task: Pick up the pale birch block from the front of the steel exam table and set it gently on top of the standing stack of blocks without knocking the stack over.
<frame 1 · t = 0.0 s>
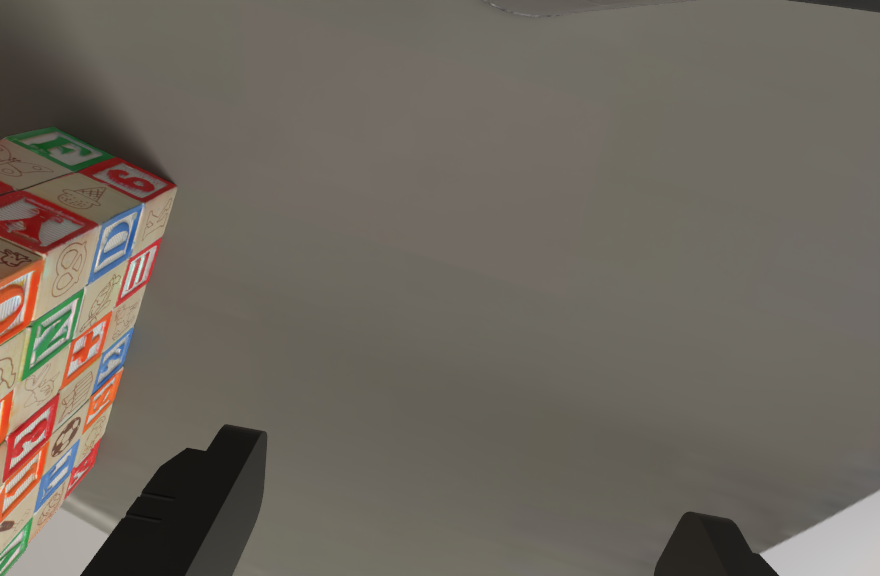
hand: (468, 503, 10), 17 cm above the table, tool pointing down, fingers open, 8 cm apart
stack of blocks: (81, 320, 30), on the table
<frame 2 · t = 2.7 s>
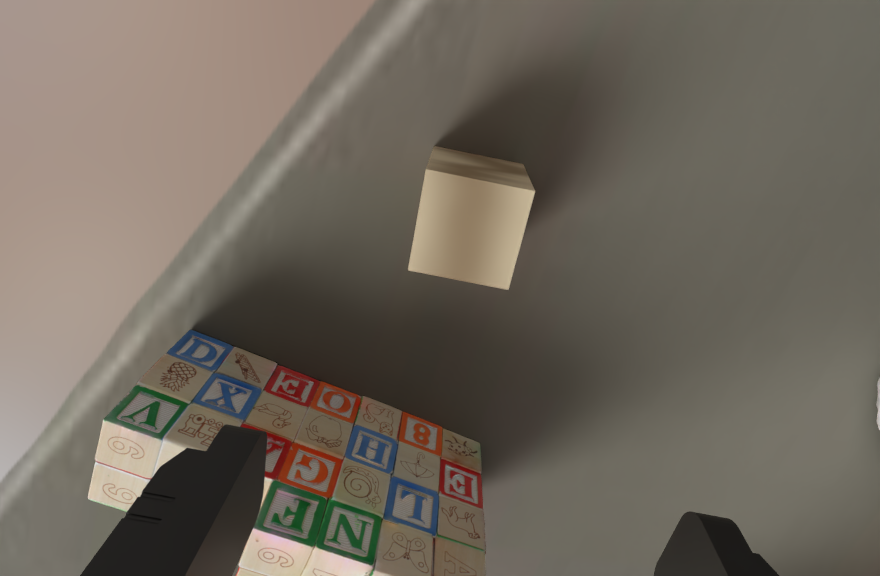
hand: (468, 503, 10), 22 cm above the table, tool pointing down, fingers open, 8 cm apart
birch block: (469, 198, 30), on the table
stack of blocks: (328, 417, 38), on the table
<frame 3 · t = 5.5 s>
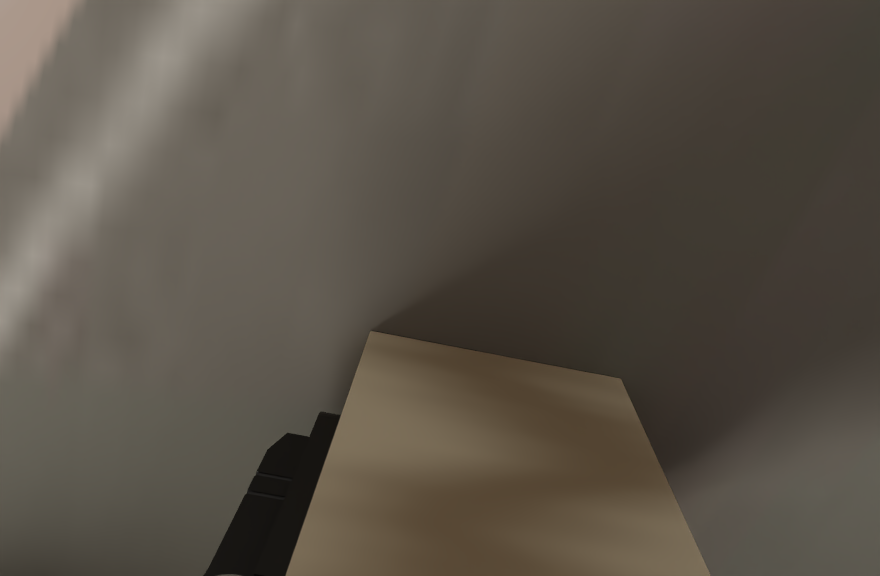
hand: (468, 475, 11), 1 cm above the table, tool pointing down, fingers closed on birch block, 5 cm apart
birch block: (469, 452, 11), on the table, touching gripper
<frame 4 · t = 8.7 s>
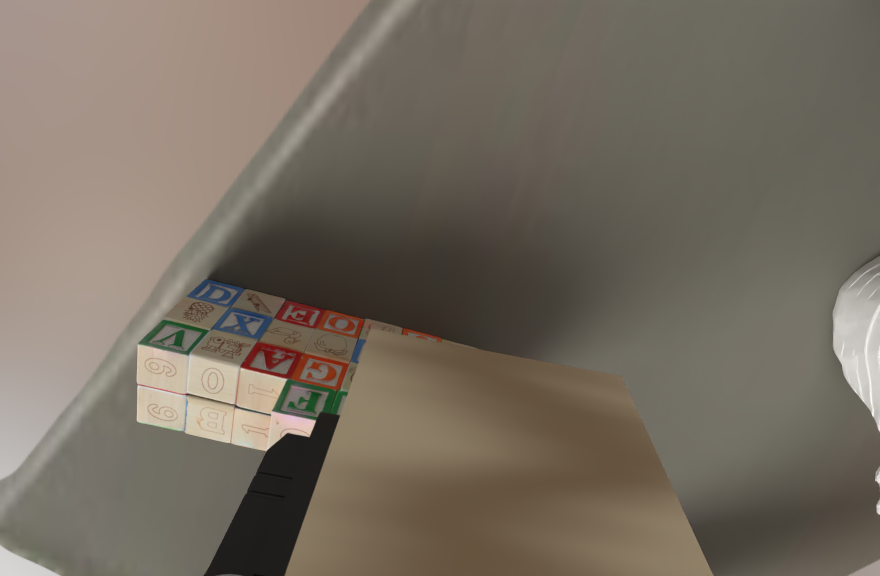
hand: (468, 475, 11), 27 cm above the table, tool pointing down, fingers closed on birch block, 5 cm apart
birch block: (469, 450, 11), point 26 cm above the table, touching gripper
stack of blocks: (339, 344, 42), on the table
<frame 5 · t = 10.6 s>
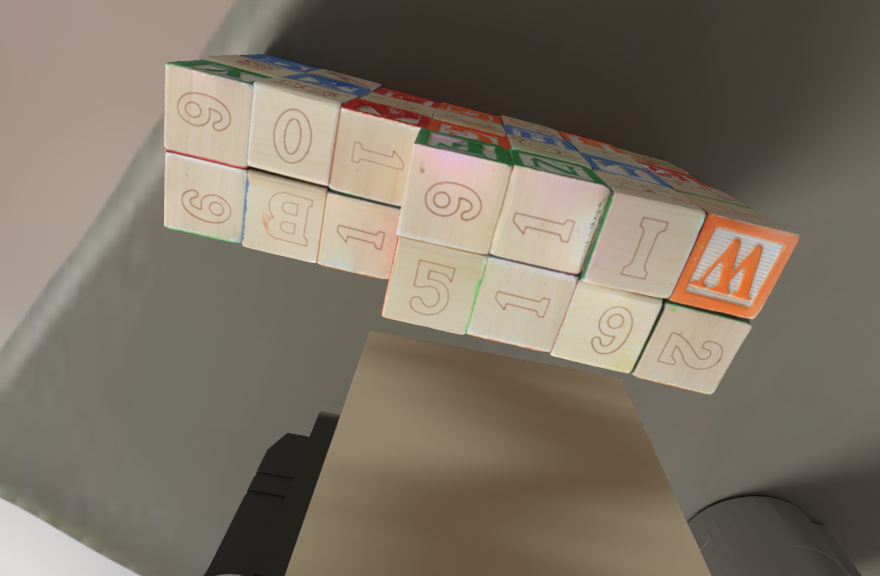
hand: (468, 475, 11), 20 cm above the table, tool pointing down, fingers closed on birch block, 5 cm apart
birch block: (469, 452, 11), point 19 cm above the table, touching gripper
stack of blocks: (455, 166, 28), on the table
when the fingers open (14 cm above the table, at t = 12.1 s): birch block drops 1 cm, resting on stack of blocks.
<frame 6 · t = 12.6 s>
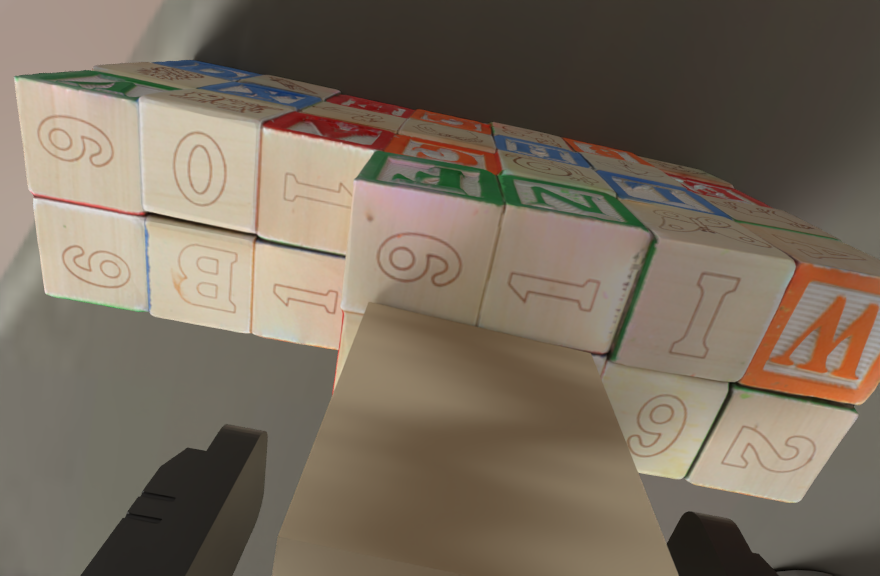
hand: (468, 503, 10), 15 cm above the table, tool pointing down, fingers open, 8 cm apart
birch block: (453, 417, 13), point 12 cm above the table, touching stack of blocks
stack of blocks: (439, 186, 23), on the table, touching birch block
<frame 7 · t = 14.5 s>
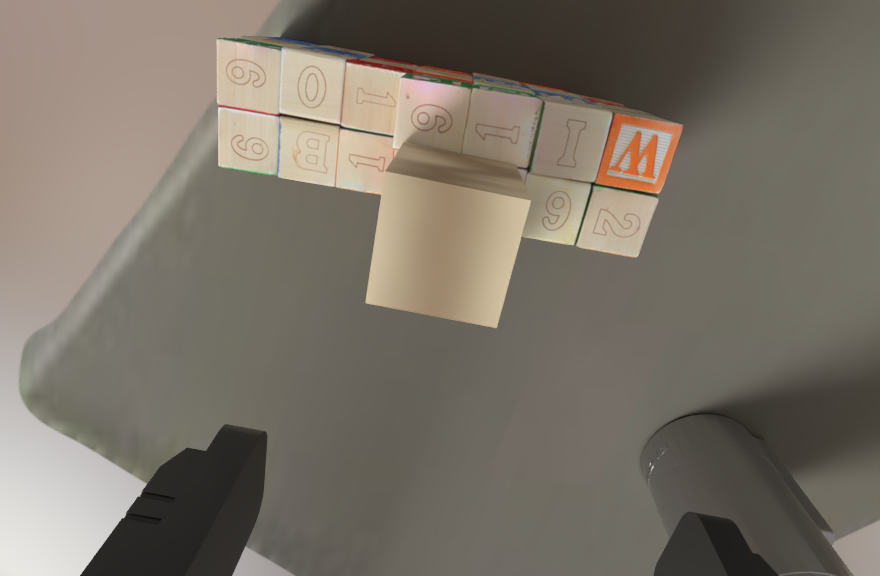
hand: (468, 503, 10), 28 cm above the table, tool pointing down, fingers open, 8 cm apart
birch block: (448, 207, 24), point 12 cm above the table, touching stack of blocks
stack of blocks: (439, 118, 35), on the table, touching birch block
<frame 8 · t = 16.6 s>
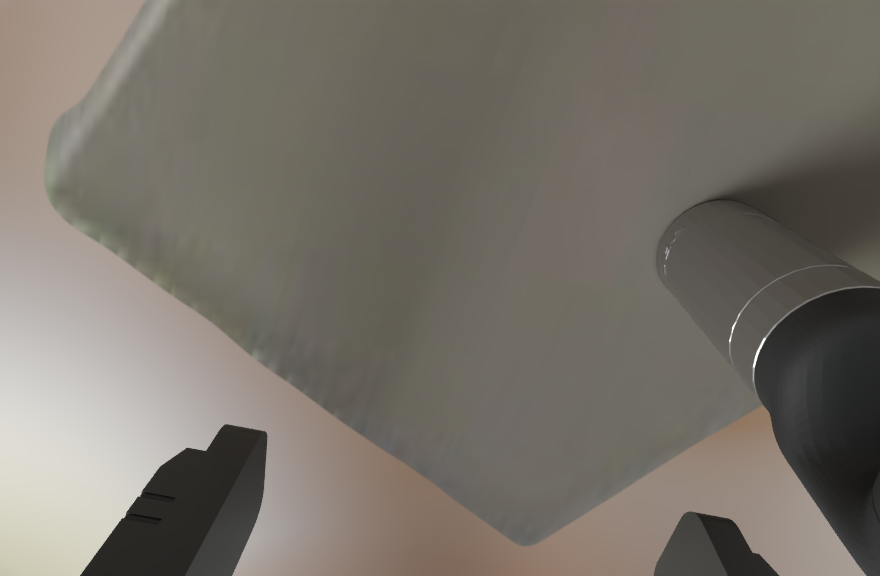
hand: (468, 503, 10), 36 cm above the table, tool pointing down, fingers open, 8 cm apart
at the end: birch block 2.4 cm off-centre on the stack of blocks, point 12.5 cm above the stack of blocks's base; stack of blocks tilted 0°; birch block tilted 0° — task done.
